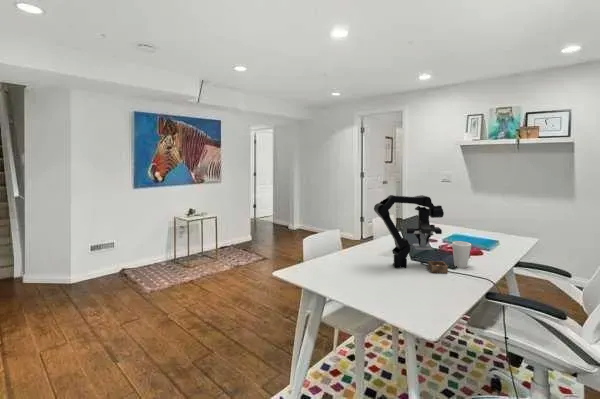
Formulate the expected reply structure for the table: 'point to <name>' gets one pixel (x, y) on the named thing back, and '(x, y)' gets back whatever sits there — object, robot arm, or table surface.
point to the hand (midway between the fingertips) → (422, 245)
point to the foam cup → (461, 253)
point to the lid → (423, 245)
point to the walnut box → (437, 267)
